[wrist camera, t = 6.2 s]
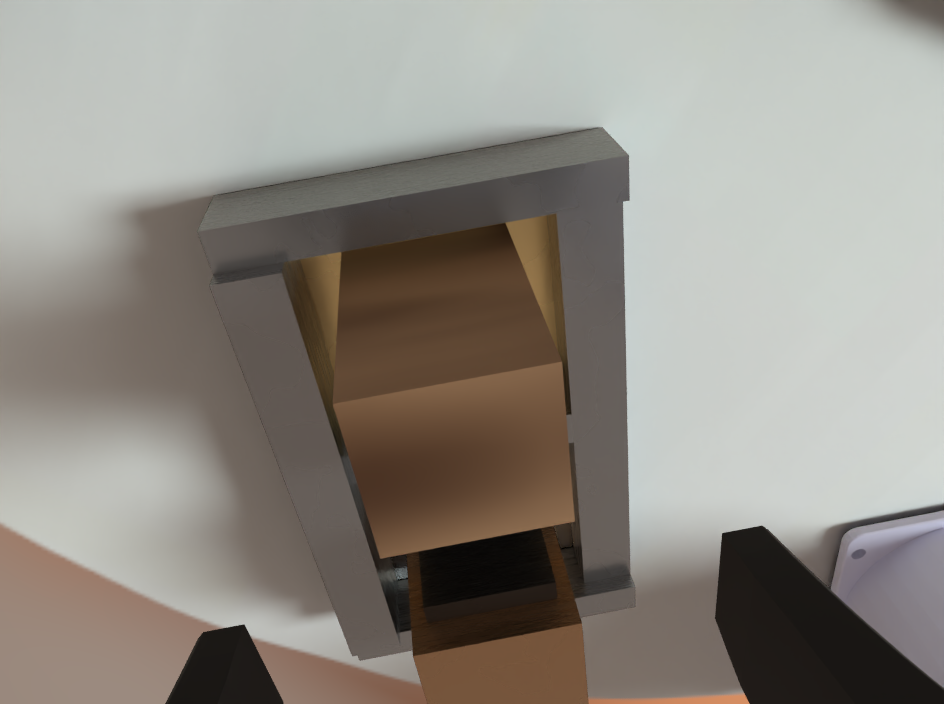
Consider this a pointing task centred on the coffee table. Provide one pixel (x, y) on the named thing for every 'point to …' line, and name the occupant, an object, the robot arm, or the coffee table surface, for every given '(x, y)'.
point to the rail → (319, 435)
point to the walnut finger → (449, 392)
